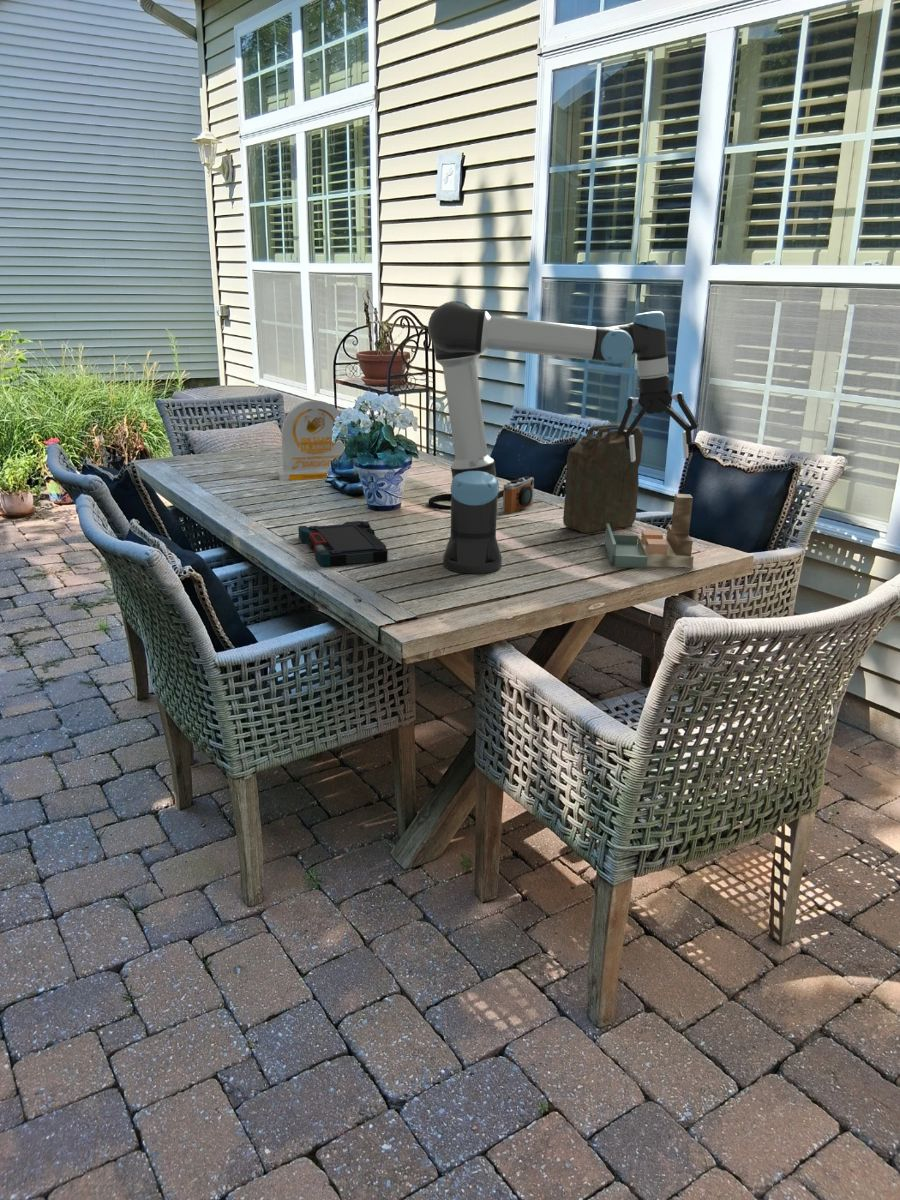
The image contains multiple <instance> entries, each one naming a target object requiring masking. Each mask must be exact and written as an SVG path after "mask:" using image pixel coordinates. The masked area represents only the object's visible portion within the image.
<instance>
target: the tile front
mask: <svg viewBox="0 0 900 1200" xmlns="http://www.w3.org/2000/svg"><path fill="white" fill-rule="evenodd" d="M645 548H646V550H647V553H658V554H667V550H668V544H667V542H666V540H665V539H646V546H645Z"/></svg>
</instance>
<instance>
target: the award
mask: <svg viewBox="0 0 900 1200" xmlns="http://www.w3.org/2000/svg"><path fill="white" fill-rule="evenodd" d="M340 413H341V412H340V410H338V409H337V407H335V406H333V405H332V404H330V403H328V402H326V401H321V400H316V399H315V400H307V401H303V402H301V403H298V404H297V405H295V406H294V407H293V408H292V409H290V410H289V412H288V413H287V415H286V416H285V417H284V420H283V423H282V427H281V431H280V432H281V451H282V469H278V470H276V476H277V478H278V479H279V481H296V480H297V481H300V480H316V479H317V480H319V479H327V478H326V476H327V474H328V471H329V468H330V463H331V459H334V458H338V457H339V456H340V455H341V454H342V453H343V451H344V444H343V443H341V442H337V443H333V442H332V428H333V424H334V421H335V418H336V417H337V415H339V414H340Z"/></svg>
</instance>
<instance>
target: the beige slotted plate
mask: <svg viewBox="0 0 900 1200" xmlns="http://www.w3.org/2000/svg"><path fill="white" fill-rule="evenodd" d="M663 539H665V540H666V542H667V544H668V550H667V554H658V553H647V550H646V548H645V546H646V544H643V541H642V539H641V536H638V547H639V549H640V551H641V554H642V556H647V567H657V568H678V567H686V568H685V569H693V567H694V558H695V557H694V555H693V554H692V553H691V556H681V555H675V554H674V552H673V550H672V548H671V546H670V544H669V543H668V541H667V539H666V537H663ZM687 567H688V568H687Z"/></svg>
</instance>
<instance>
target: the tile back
mask: <svg viewBox="0 0 900 1200" xmlns="http://www.w3.org/2000/svg"><path fill="white" fill-rule="evenodd" d="M640 537H641V539H642V541H643V544H646V539H663V538H664V535H663V533H662V531H661V530H660V529H659V530H656V529H655V530H653V529H642V530H641V536H640Z"/></svg>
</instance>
